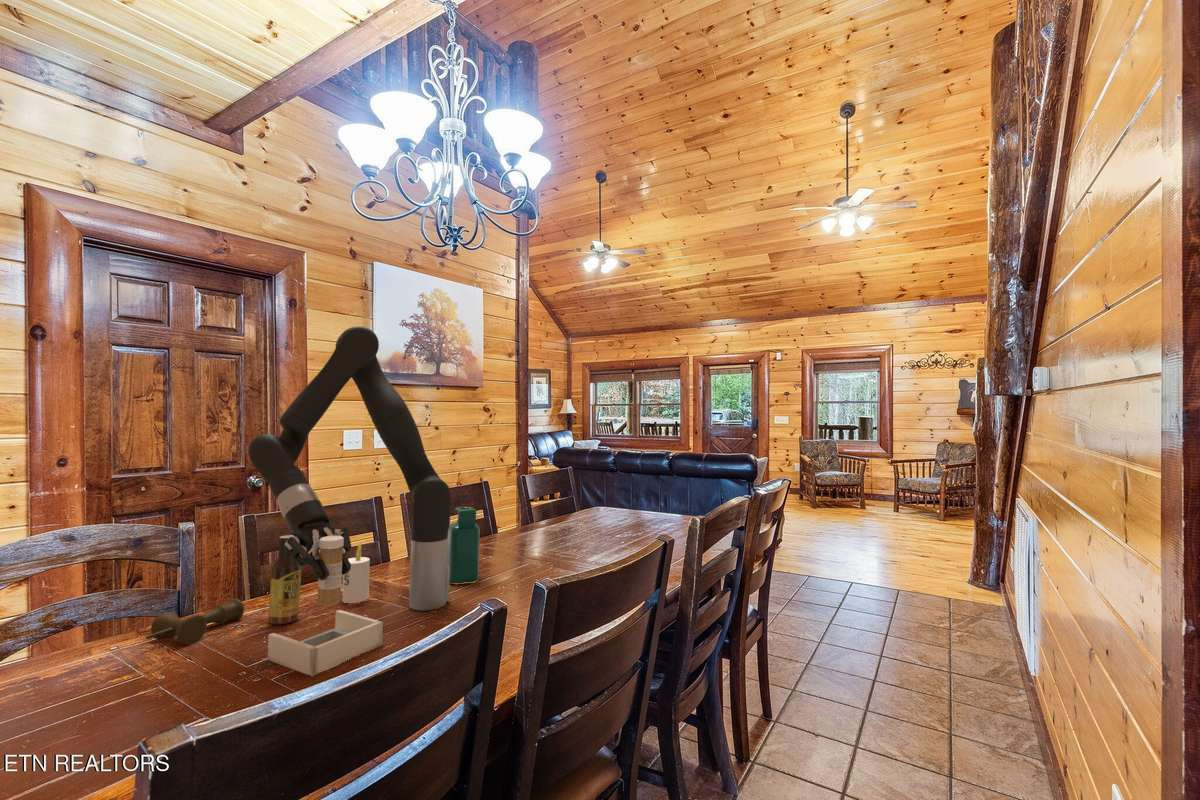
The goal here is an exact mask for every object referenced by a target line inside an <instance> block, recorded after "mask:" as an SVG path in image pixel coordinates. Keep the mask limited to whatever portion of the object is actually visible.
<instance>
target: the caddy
mask: <svg viewBox="0 0 1200 800" xmlns="http://www.w3.org/2000/svg"><path fill="white" fill-rule="evenodd" d="M383 624H384V622H383V621H381V620H377V619H374V618H369V617H367V616H363V615H360V614H356V613H352V612H350V611H349V612H348V611H345V610H341V609H339V610H336V611H335V625H334V628H331V629H329V630H326V631H324V632H320V633H319V634H315V635H313V636H311V637H308V638H305V639H302V640H296V639H294V638H290V637H287V636H284V635H282V634H278V633H275V632H272V633H268V640H267V642H268V643H267V660H268V661H270V662H272V663H276V664H278V665H281V666H283V667H286V668H288V669H291V670H294V671H296V672H299V673H302V674H304V675H307V676H309V675H310V677H314V675H315V676H316V674H317V675H319V674H321V673H323V671H324V672H326V671H328V670H330V669H332V668H335V667H337V666H339V665H342V664H344V663H346V662H348V661H350V660H352V659H351V658H352V657H354V656H357V655H359V654H361V653H364V652H366V653H368V652H371V651H372V650H375V649H378V648H380V647H381V646H383V630H384V628H383V626H384V625H383ZM370 650H371V651H370ZM367 651H368V652H367ZM364 654H365V653H364ZM359 656H360V655H359ZM357 657H358V656H357ZM349 659H350V660H349ZM347 660H348V661H347ZM345 661H346V662H345ZM343 662H344V663H343ZM341 663H342V664H341ZM320 672H321V673H320ZM318 673H319V674H318Z"/></svg>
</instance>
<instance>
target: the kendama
mask: <svg viewBox="0 0 1200 800" xmlns="http://www.w3.org/2000/svg"><path fill="white" fill-rule="evenodd" d="M244 612H245V605H244V603H243V602H242V601H241V599H239V598H233V599H232V598H231V599H230V600H228V603H226V604H224V605H221V604H217V605H215V606H213V607H212V609H211V610H210V611H209V612H206V613H204V614H202V615H201V614H193V615H190V616H188V617H186V618H185V619H182V618H181V619H180V616H179V615H178V614H177V613H176V612H173V611H168V612H163V613H160V614H159V615H158V616H157V617H156V618H154V620H153V621H152V623H151V628H150V634H148V635H146V637H145V639H147V640H148V639H157V640H163V639H164V640H165V639H167V638H170V637H172V636H173V637H174V636H175V637H177V640H178V642H179V644H181V645H184V646H188V644H189V645H191V643H192V644H194V642H195V643H197V642H198V640H199V641H200V640H201V639H202V638H203V637H204V635H205V634H206V631H207V627H208V624H213V623H214V624H217V625H222V624H224V623H225V622H226V621H228V620H231V621H239V620H240V619H242V618H243V616H244ZM196 641H197V642H196Z"/></svg>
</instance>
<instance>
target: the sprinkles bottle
mask: <svg viewBox="0 0 1200 800" xmlns="http://www.w3.org/2000/svg"><path fill="white" fill-rule="evenodd" d="M343 545H344V538H343V537H342V536H335V535H334V536H326V537H323V538H321V539H320V540H319V548H320V550H319V552H320V560H321V559H322V560H323V562H324V564H325V566H326V568H327V570H328V572H329V576H328V577H327V578H326V579H325V580H322V581H321V580H320V578H318V577H317V578H318V579H317V581H318V583H317V588H318V589H317V600H316V603H317V605H318V606H324V607H325V606H331V605H332V606H333V605H337V604H338V603H341V601H342V598H341V592H342V591H341V589H342V588H341V587H342V582H343V580H342V578H343V574H342V549H343Z"/></svg>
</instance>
